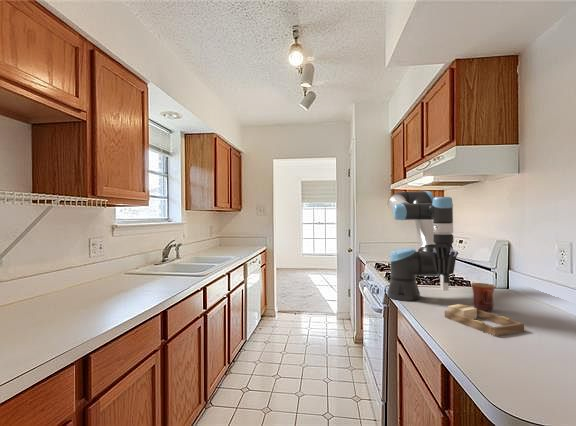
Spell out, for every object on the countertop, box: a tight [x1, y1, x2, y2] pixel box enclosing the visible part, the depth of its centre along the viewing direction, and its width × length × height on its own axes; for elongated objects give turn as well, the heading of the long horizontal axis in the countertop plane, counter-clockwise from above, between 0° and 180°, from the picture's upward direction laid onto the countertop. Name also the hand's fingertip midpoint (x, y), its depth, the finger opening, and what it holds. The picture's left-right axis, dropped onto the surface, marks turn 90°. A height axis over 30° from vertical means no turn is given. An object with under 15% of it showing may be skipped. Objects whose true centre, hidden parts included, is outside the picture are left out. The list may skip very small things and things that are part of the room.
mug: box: [470, 282, 496, 312], centre depth 132 cm, size 12×9×10 cm
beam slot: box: [444, 309, 525, 337], centre depth 116 cm, size 21×14×3 cm, turn 18°
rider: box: [447, 303, 478, 320], centre depth 124 cm, size 7×7×4 cm
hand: (444, 290), depth 133 cm, fingers closed
